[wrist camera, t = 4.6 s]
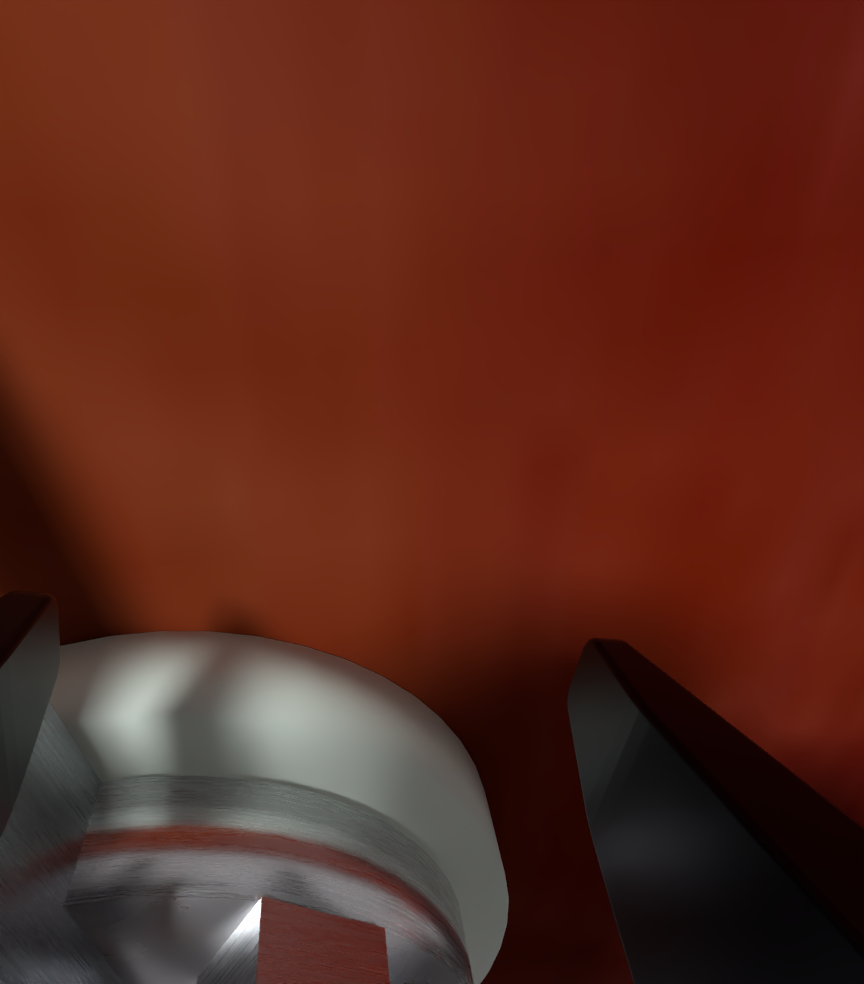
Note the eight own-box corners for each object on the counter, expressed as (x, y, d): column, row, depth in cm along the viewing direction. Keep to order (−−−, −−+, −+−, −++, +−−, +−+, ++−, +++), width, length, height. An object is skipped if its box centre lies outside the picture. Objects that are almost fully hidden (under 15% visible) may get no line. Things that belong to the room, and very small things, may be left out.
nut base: (552, 649, 14) (588, 734, 13) (431, 1013, 20) (443, 1108, 18) (-213, 609, 12) (-316, 711, 10) (-97, 1043, 18) (-146, 1159, 16)
